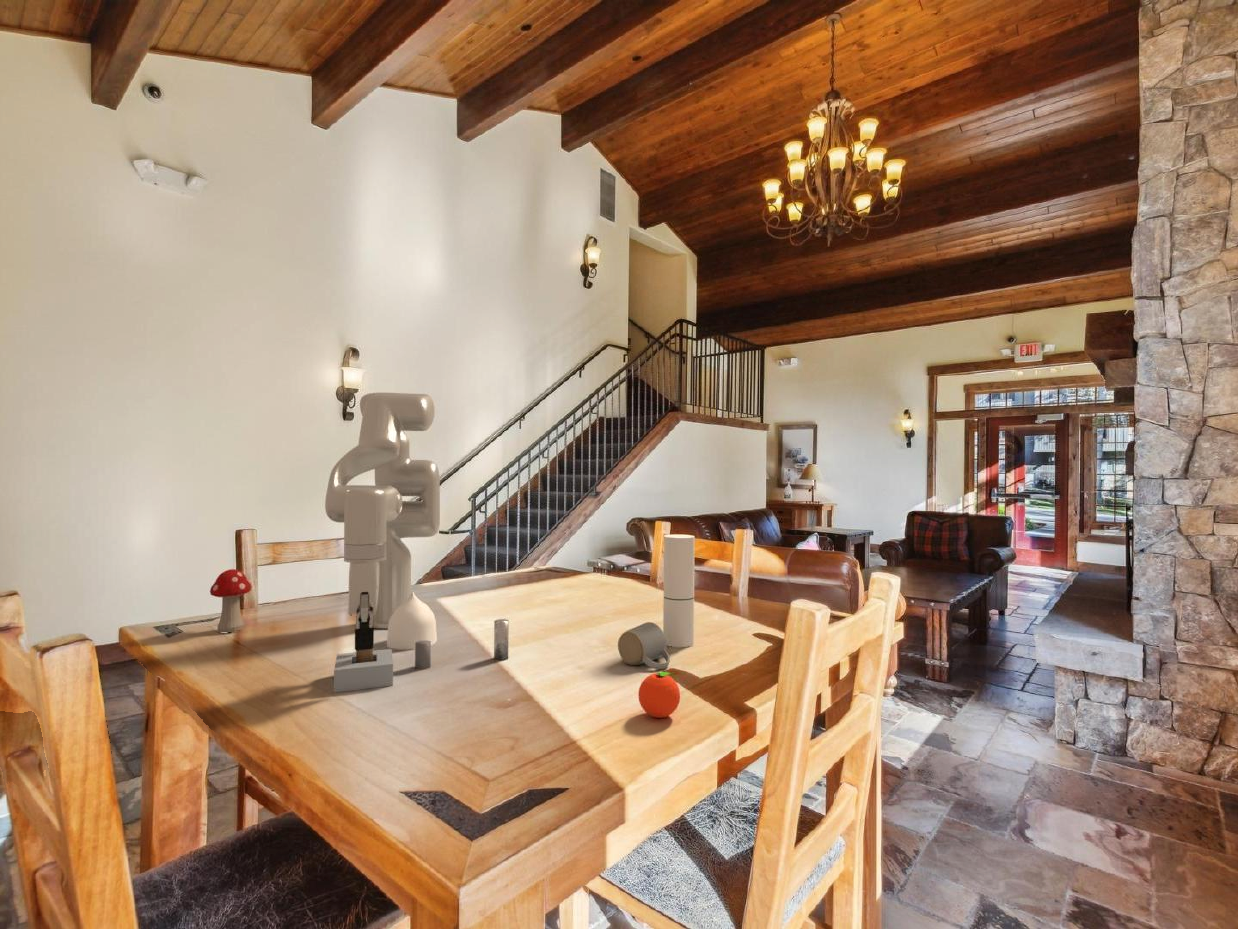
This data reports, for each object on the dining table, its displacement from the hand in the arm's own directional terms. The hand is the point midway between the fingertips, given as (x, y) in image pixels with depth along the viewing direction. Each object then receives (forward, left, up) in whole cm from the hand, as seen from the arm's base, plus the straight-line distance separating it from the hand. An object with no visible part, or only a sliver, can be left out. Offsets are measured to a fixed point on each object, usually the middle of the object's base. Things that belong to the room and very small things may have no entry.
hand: (364, 642), depth 117 cm
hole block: (0, 0, -7) cm, 7 cm away
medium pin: (-4, +27, -7) cm, 28 cm away
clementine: (+35, +46, -7) cm, 58 cm away
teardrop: (-23, +10, -7) cm, 26 cm away
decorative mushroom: (-49, -31, -7) cm, 58 cm away
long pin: (0, 0, -7) cm, 7 cm away
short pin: (-4, +11, -7) cm, 14 cm away
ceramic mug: (+10, +55, -7) cm, 56 cm away
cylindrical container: (-1, +68, -7) cm, 68 cm away
